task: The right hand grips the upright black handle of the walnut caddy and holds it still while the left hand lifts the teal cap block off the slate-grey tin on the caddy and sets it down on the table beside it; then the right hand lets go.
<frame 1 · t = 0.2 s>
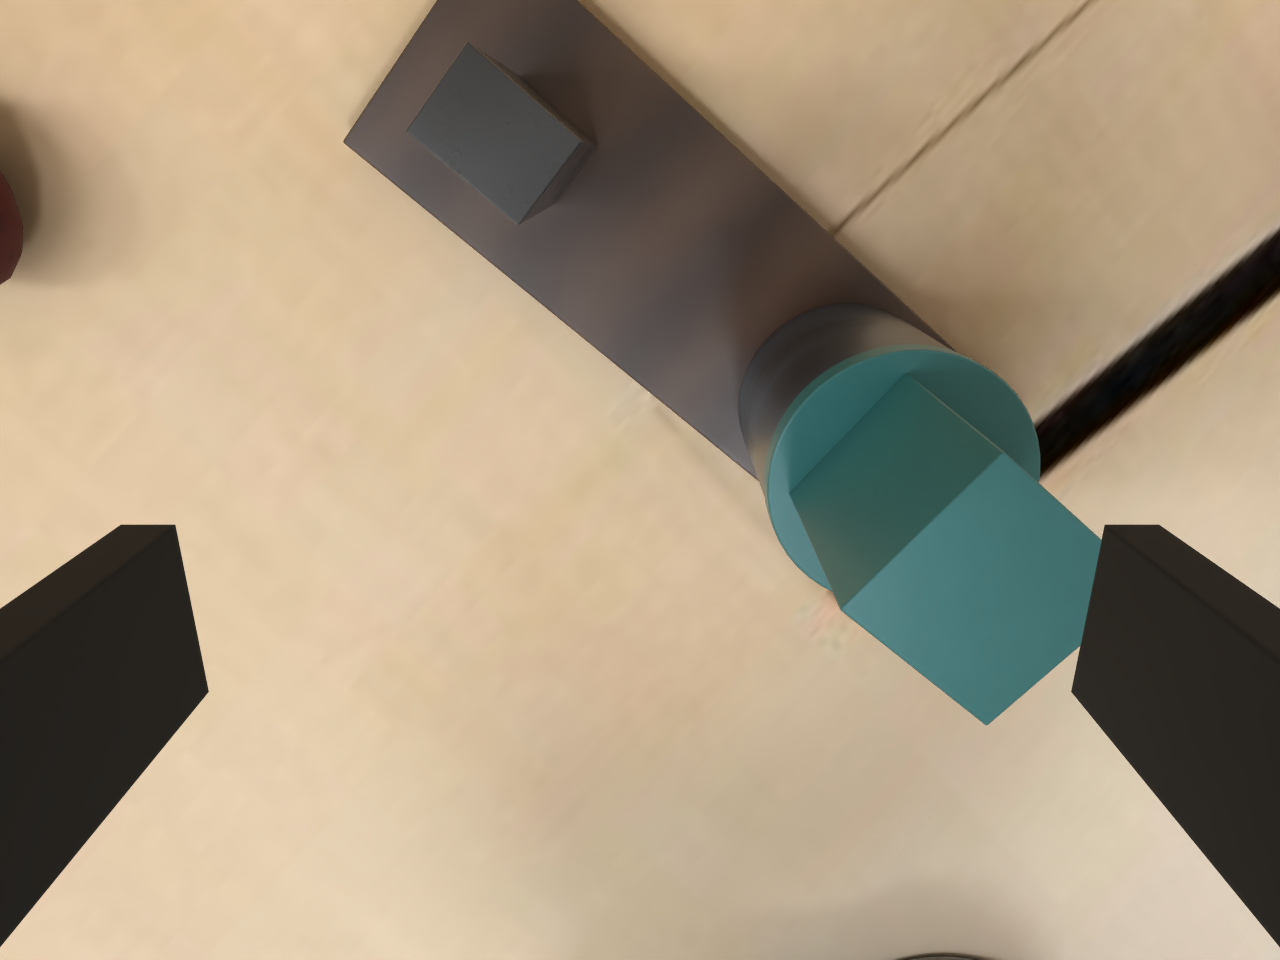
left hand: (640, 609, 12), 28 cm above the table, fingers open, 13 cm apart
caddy: (702, 283, 38), on the table, touching cap block
cap block: (895, 474, 30), point 11 cm above the table, touching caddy
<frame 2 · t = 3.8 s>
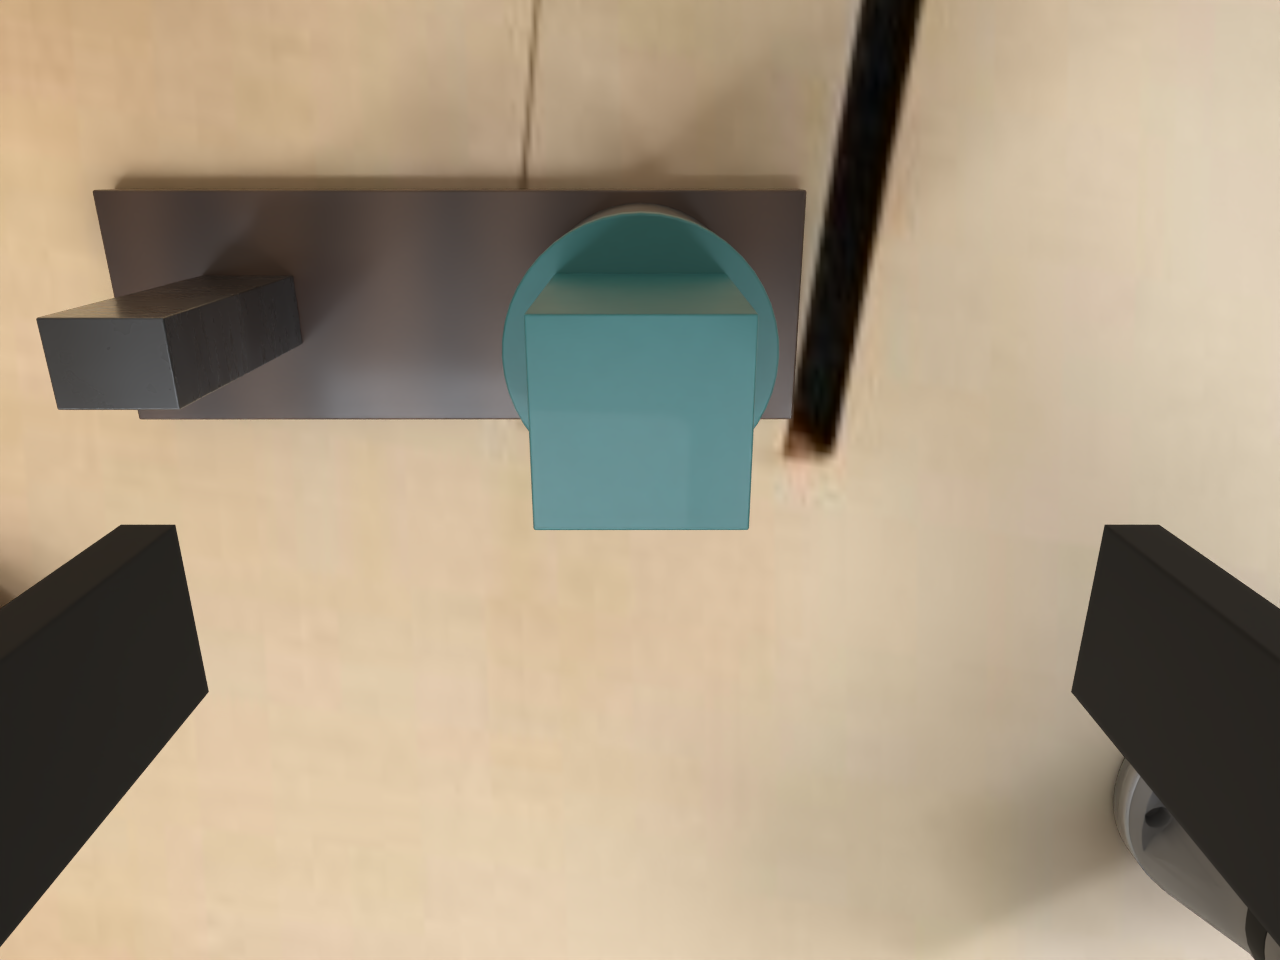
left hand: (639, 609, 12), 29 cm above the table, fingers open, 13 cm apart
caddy: (464, 304, 39), on the table, touching cap block
cap block: (640, 351, 30), point 11 cm above the table, touching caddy
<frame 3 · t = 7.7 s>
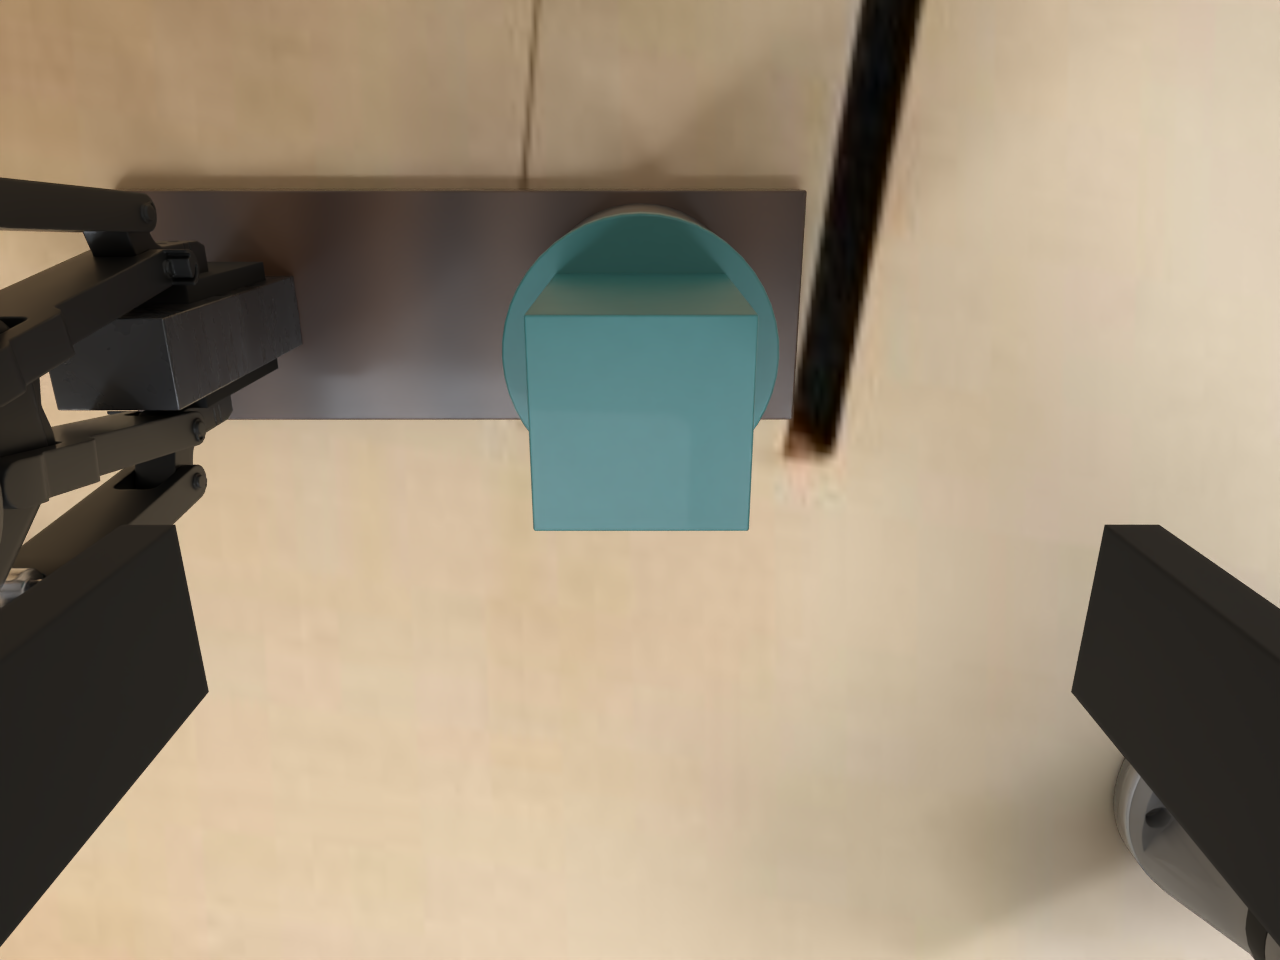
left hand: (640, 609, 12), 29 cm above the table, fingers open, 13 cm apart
right hand: (238, 316, 37), fingers closed on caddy, 3 cm apart
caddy: (464, 305, 39), on the table, touching cap block, right hand
cap block: (640, 352, 30), point 11 cm above the table, touching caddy
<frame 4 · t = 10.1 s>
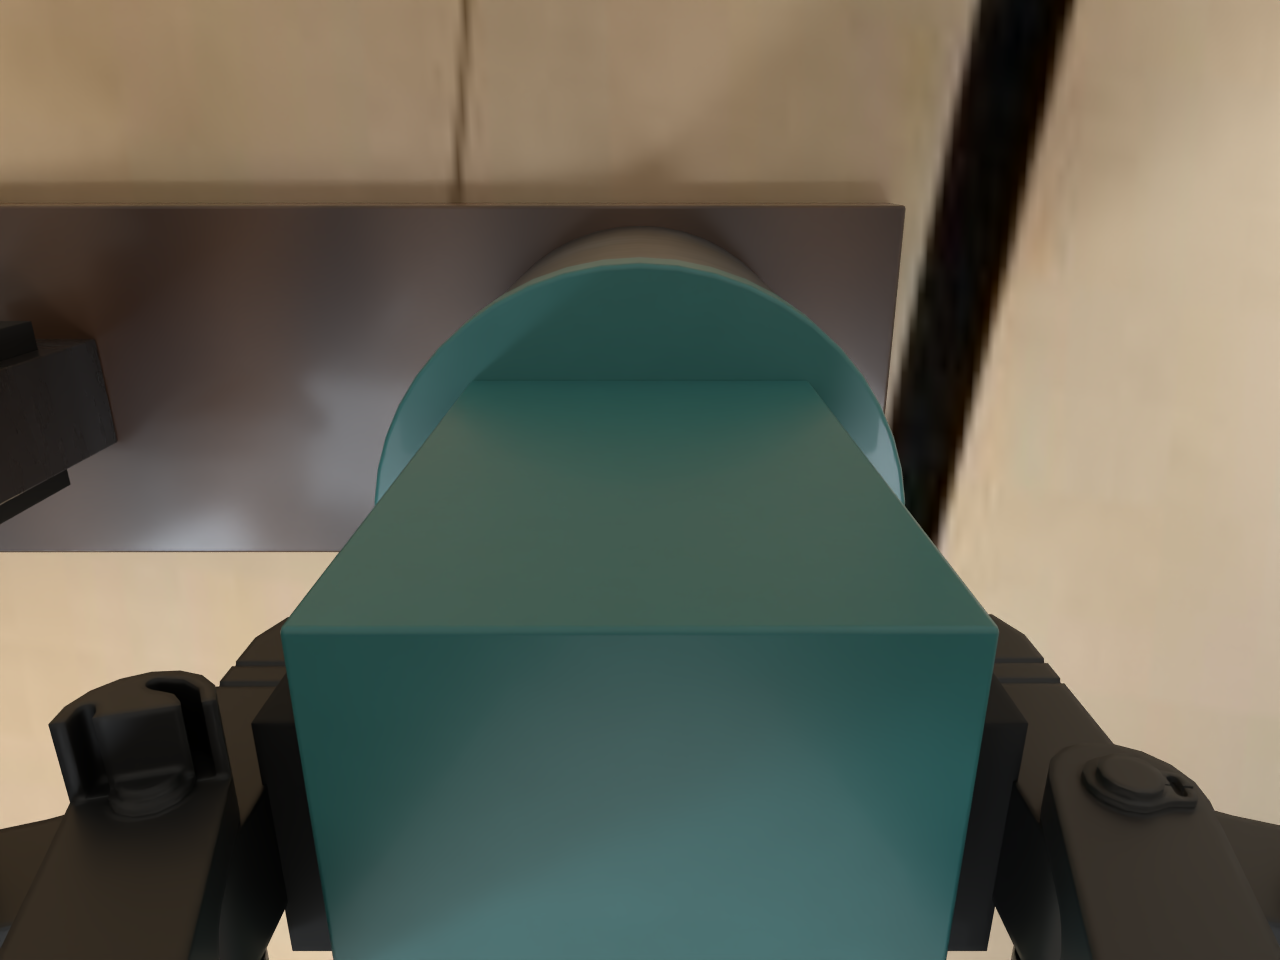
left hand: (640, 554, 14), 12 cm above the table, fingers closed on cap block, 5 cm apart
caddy: (371, 379, 26), on the table, touching cap block, right hand
cap block: (639, 513, 16), point 11 cm above the table, touching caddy, left hand
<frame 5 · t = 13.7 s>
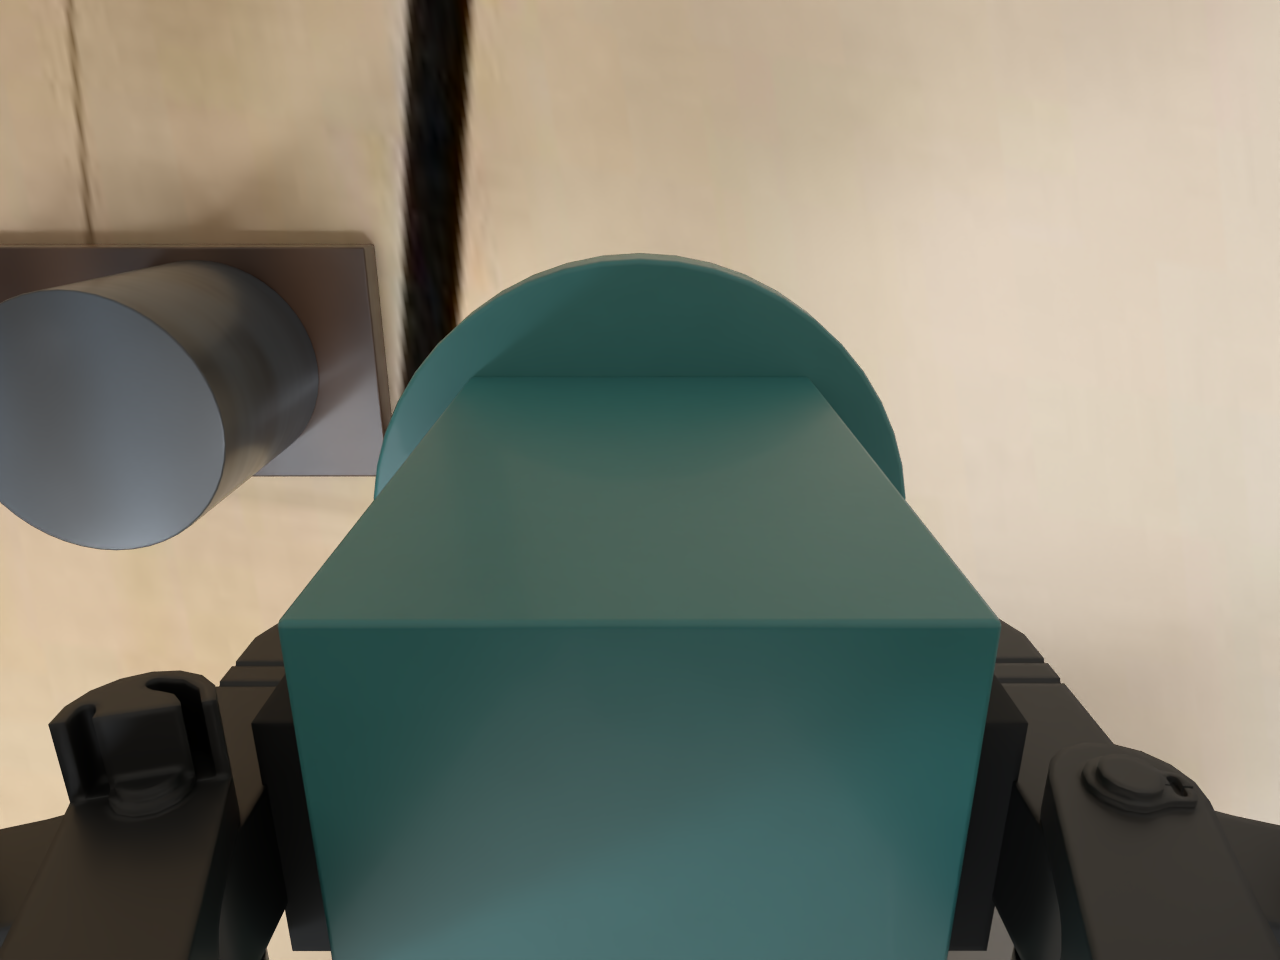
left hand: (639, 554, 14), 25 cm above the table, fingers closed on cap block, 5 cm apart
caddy: (49, 359, 39), on the table, touching right hand
cap block: (639, 510, 16), point 23 cm above the table, touching left hand
when the left hand's fingers open (4 cm above the table, at t = 17.7 s): cap block drops 2 cm, on the table.
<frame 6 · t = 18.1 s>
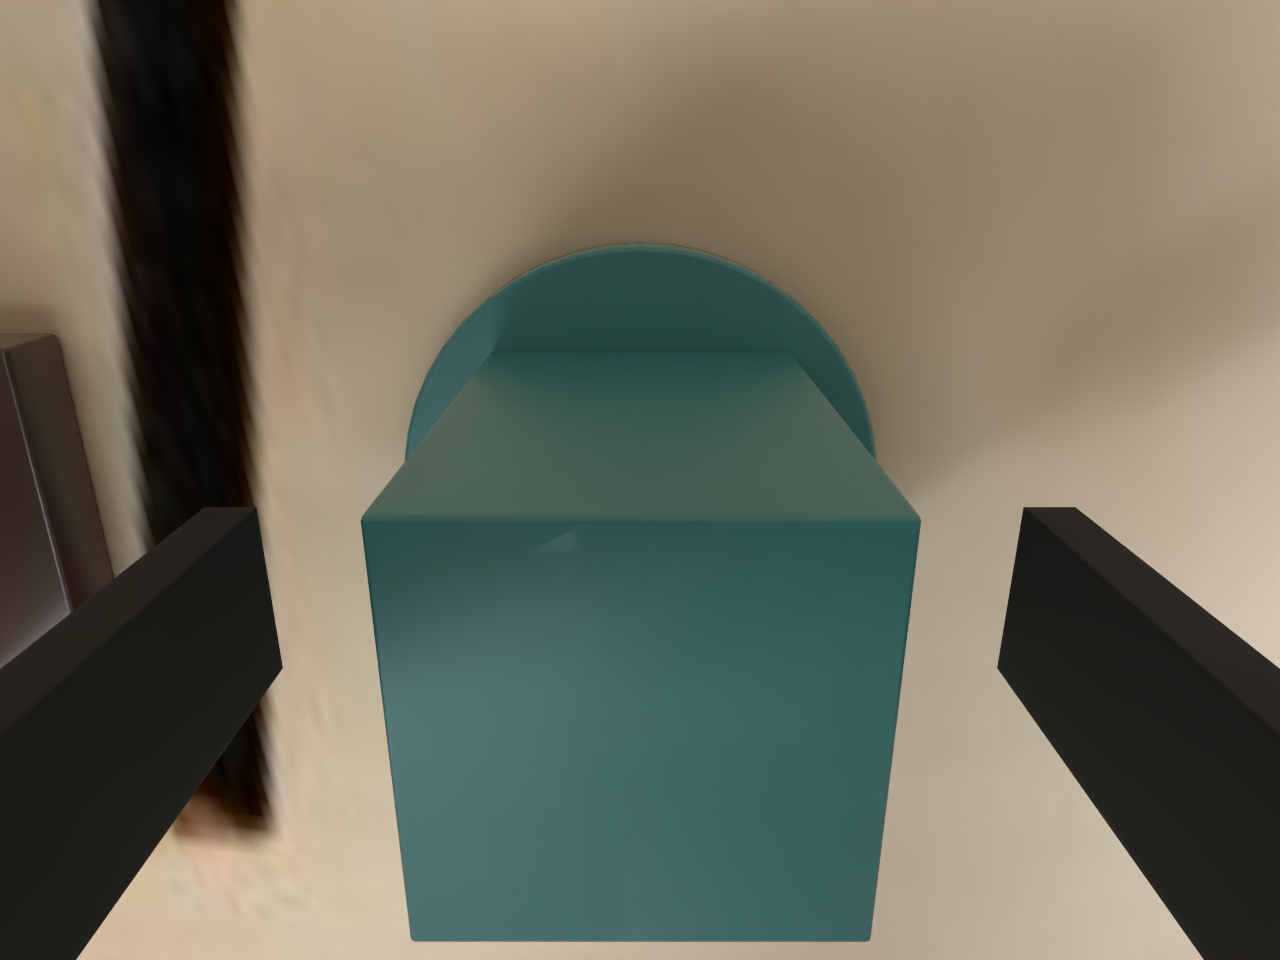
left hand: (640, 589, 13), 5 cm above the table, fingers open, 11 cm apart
cap block: (640, 472, 18), on the table
when the right hand's fingers open (3 cm above the table, at t = 20.7 s): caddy stays where it is, on the table.
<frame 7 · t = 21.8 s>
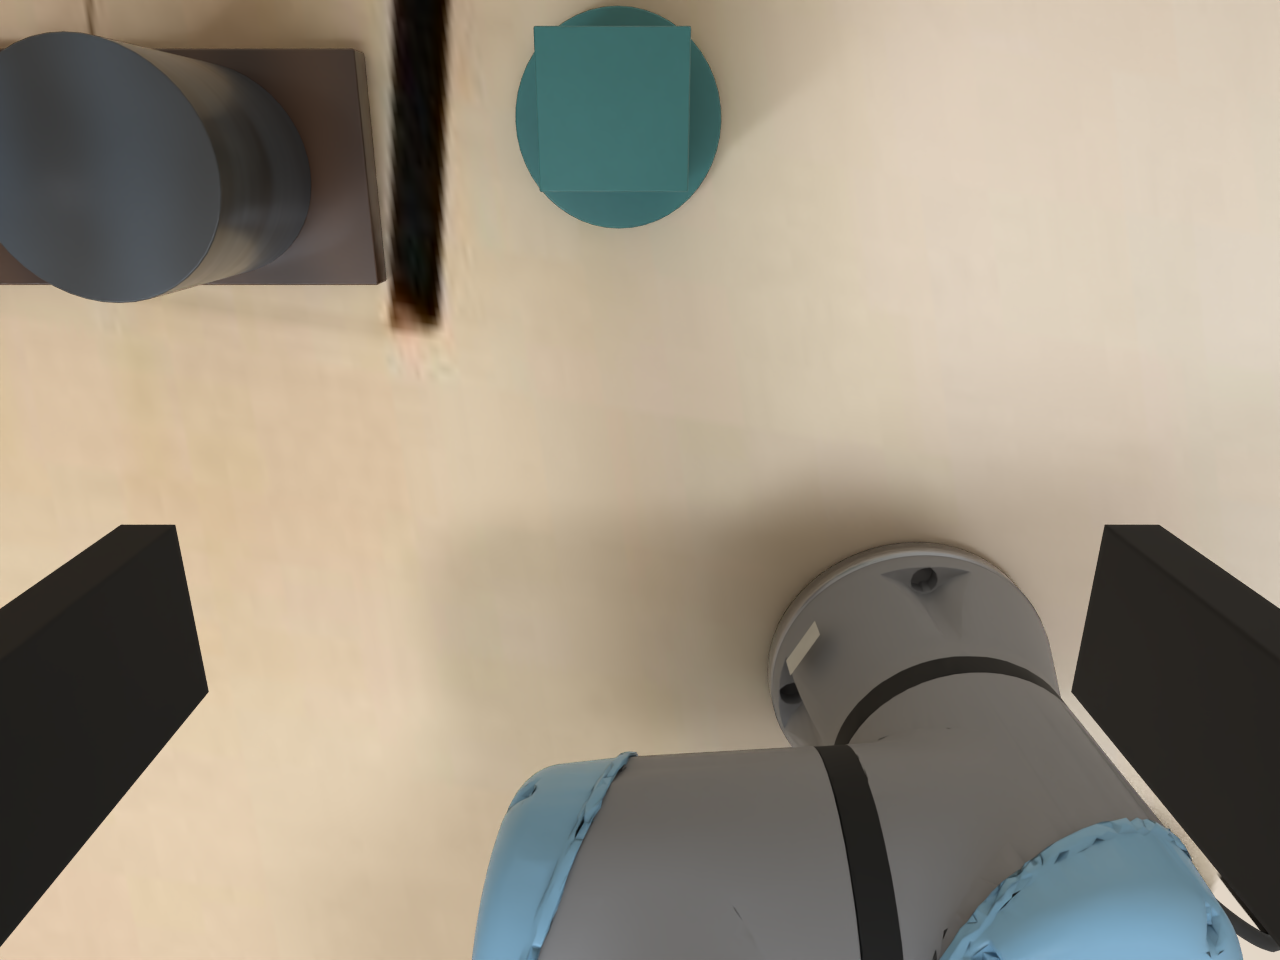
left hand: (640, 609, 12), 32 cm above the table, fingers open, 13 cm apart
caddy: (53, 171, 40), on the table
cap block: (618, 122, 40), on the table
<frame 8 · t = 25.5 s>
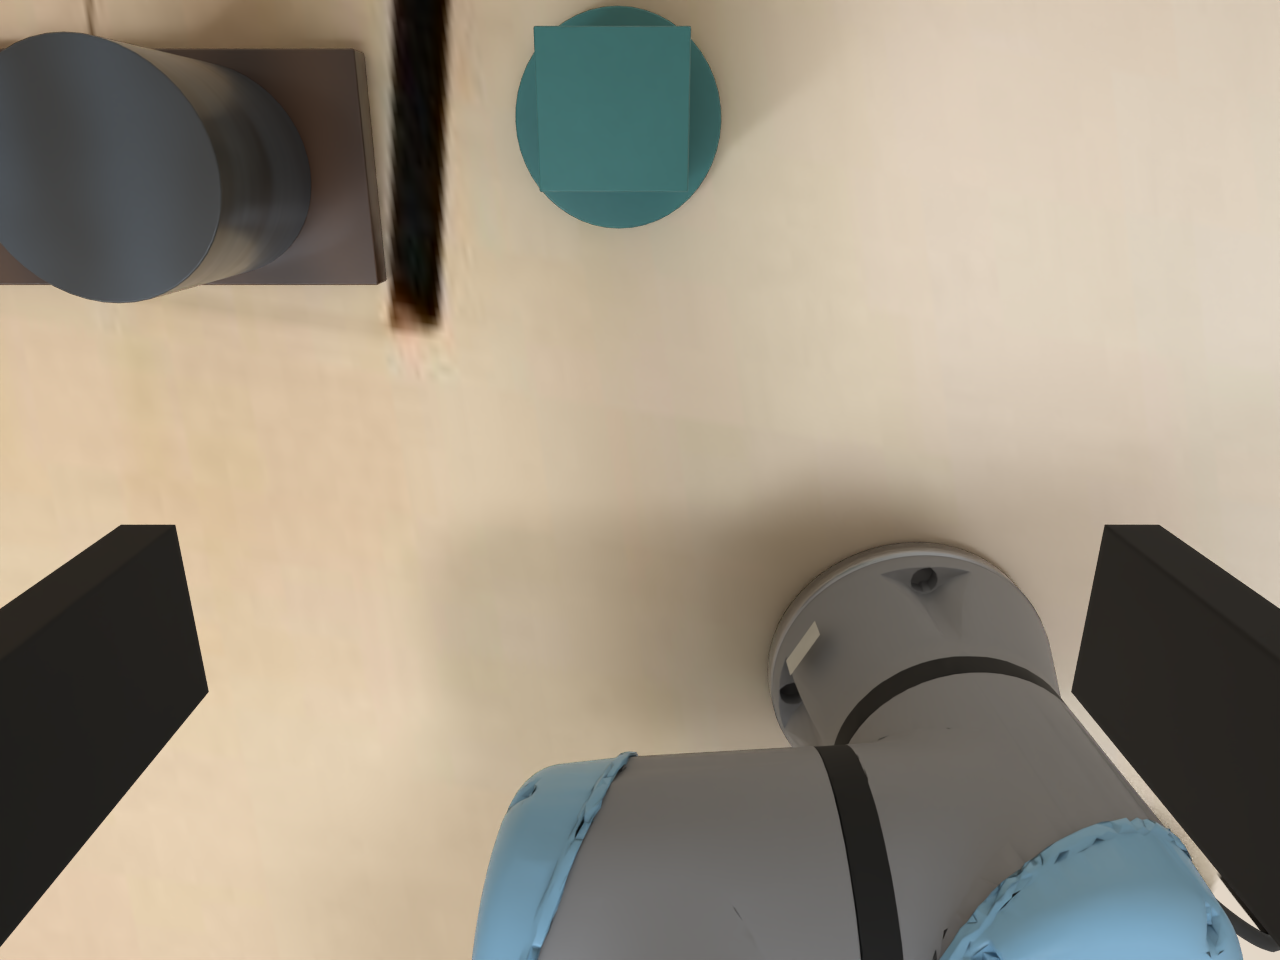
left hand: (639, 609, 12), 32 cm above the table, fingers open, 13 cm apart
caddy: (53, 171, 40), on the table
cap block: (618, 122, 40), on the table
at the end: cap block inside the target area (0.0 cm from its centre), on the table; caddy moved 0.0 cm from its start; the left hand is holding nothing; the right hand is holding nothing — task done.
